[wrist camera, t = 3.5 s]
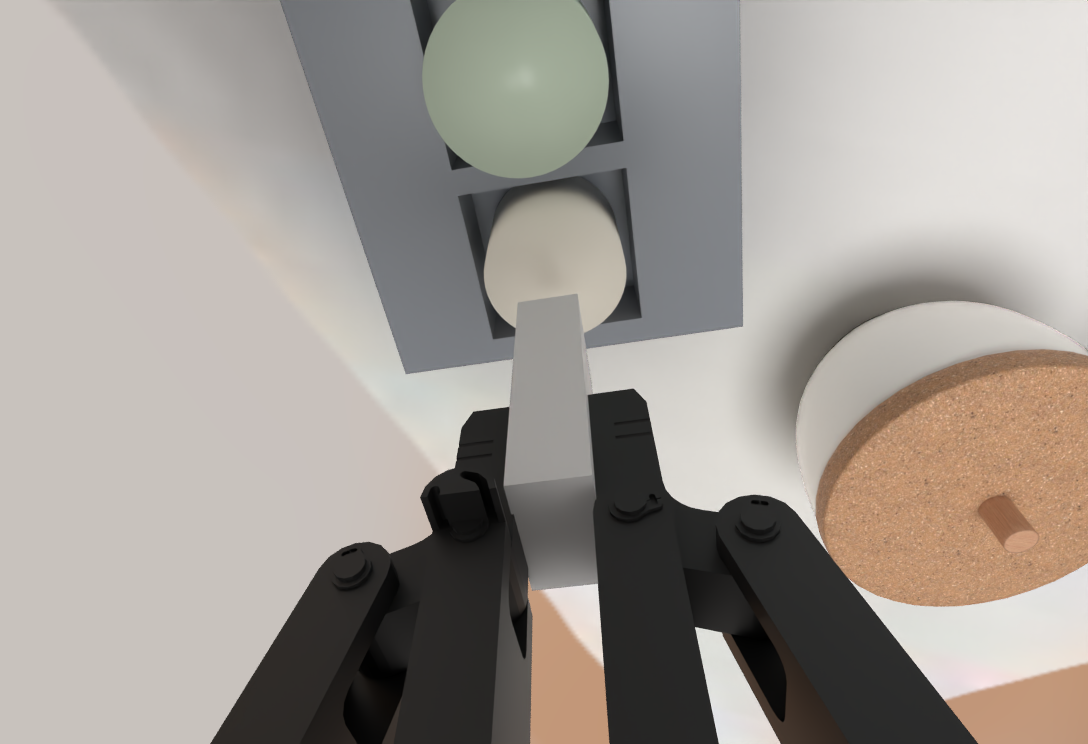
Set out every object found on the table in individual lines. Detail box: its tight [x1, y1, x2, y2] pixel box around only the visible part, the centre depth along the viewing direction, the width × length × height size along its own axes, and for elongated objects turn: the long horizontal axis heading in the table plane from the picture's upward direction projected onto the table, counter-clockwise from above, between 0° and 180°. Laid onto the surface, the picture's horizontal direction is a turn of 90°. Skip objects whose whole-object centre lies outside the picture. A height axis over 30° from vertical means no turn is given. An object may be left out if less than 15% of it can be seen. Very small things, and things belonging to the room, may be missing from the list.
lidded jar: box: [796, 301, 1088, 607], centre depth 25 cm, size 11×11×9 cm
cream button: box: [484, 176, 626, 333], centre depth 22 cm, size 4×4×4 cm
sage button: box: [422, 0, 609, 178], centre depth 17 cm, size 4×4×4 cm
